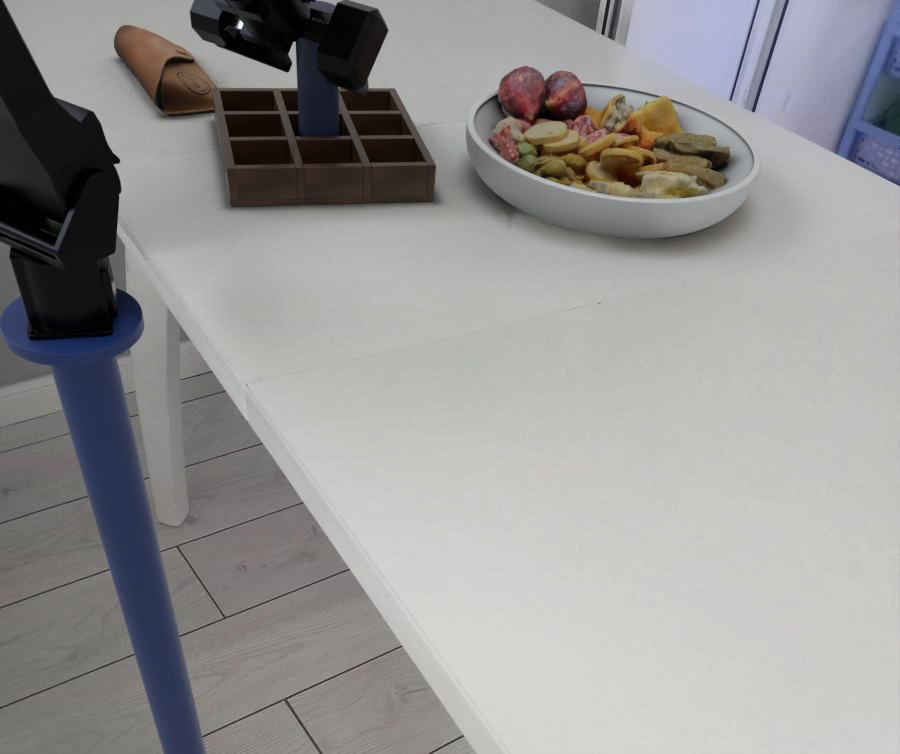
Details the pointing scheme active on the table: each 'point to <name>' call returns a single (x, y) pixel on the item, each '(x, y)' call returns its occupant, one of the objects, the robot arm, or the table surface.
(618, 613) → the table surface
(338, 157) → the grid
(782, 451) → the table surface
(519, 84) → the bowl
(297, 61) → the navy round peg
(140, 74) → the sunglasses case
